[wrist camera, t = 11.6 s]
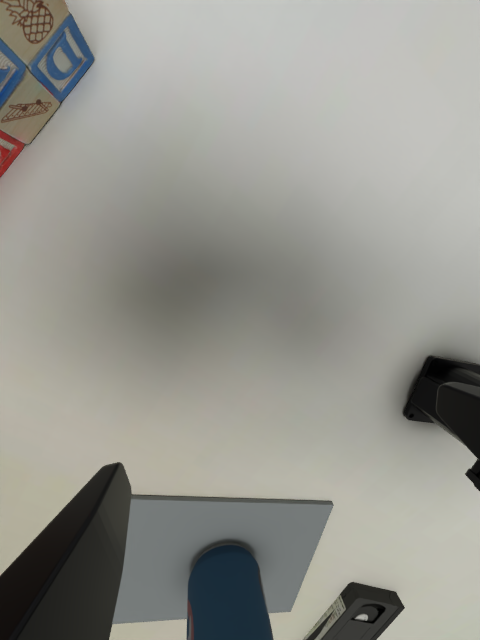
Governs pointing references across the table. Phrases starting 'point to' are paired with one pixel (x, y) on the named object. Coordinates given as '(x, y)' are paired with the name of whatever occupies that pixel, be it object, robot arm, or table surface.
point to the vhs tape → (358, 614)
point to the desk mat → (204, 532)
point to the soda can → (227, 596)
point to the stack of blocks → (35, 68)
